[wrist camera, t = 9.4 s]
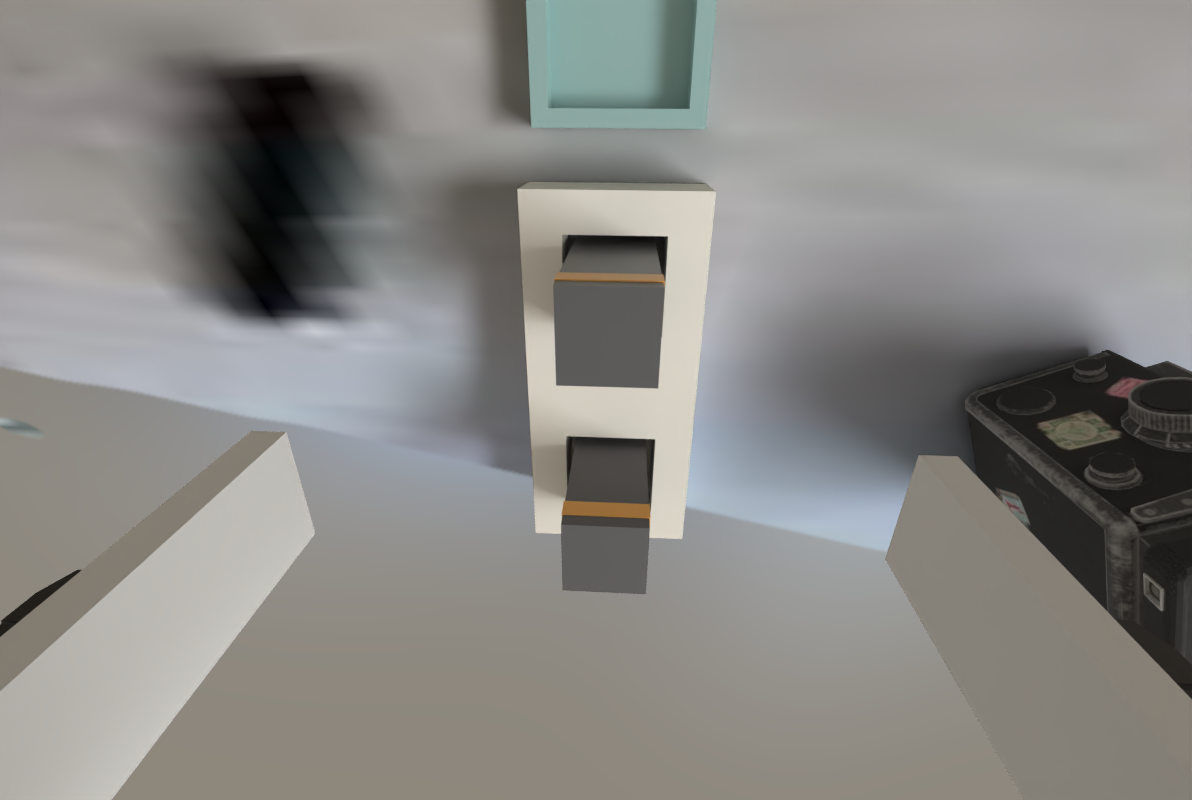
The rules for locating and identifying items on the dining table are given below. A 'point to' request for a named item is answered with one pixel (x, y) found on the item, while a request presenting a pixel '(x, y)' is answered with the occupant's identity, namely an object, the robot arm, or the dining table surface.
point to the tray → (620, 63)
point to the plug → (609, 313)
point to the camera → (1100, 479)
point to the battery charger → (613, 414)
